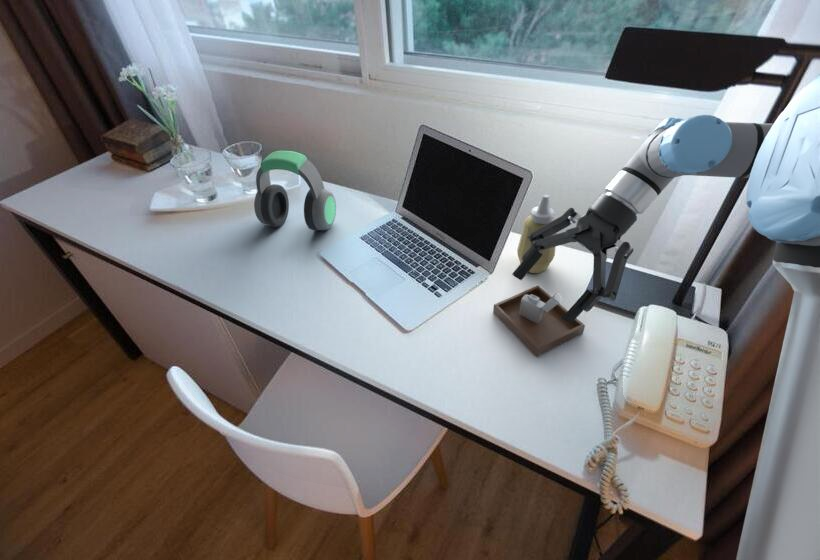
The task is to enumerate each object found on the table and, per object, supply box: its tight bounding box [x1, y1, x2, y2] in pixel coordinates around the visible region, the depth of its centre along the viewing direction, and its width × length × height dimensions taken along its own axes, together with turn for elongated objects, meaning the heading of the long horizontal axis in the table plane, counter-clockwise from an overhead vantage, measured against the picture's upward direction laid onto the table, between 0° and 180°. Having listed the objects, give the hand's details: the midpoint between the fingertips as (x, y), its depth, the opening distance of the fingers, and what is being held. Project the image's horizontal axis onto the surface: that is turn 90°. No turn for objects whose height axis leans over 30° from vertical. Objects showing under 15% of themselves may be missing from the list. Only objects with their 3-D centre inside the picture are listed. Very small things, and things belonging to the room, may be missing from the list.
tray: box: [492, 284, 586, 358], centre depth 84 cm, size 13×11×2 cm
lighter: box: [519, 292, 563, 323], centre depth 82 cm, size 7×2×8 cm, turn 49°
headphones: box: [253, 150, 337, 232], centre depth 109 cm, size 19×11×20 cm, turn 77°
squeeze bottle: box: [516, 194, 558, 274], centre depth 92 cm, size 8×8×18 cm
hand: (539, 298), depth 80 cm, fingers open, 13 cm apart
